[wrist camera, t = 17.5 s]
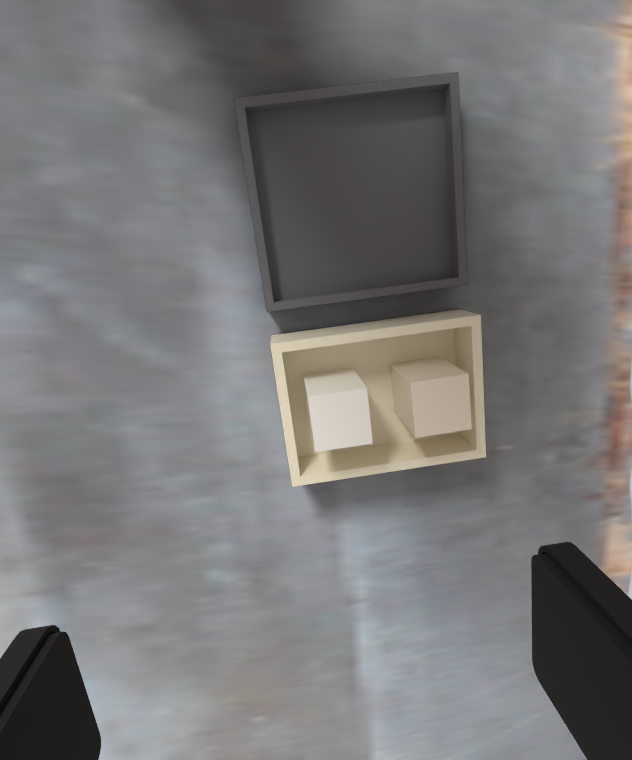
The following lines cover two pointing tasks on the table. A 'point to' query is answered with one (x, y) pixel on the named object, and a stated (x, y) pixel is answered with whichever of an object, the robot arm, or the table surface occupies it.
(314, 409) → the stone
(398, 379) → the stone
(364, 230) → the pan
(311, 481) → the tub
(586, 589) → the robot arm
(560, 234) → the table surface
